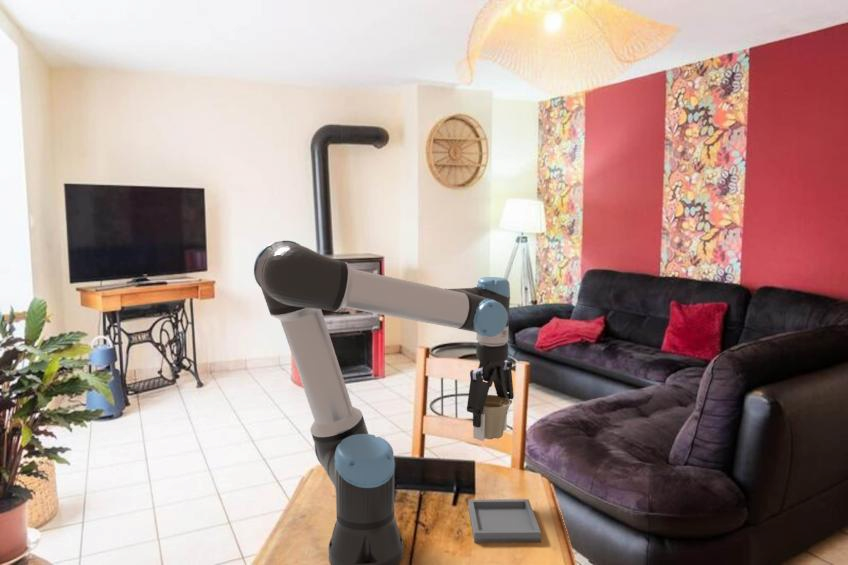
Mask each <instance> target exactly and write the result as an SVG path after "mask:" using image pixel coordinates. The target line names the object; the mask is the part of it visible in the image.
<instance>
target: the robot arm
mask: <svg viewBox="0 0 848 565" xmlns="http://www.w3.org/2000/svg"><path fill="white" fill-rule="evenodd" d="M253 275H254V276H253V277H254V279H255V282H256V283H257V285H258V286H259V287H260V289H261V291H262V295H263V298H264V300H265V302H266V306H267V308H268V311H269V315H270V316H272V317H274V318H276V319H278V320H279V321H280V323H281V326H282V328H283V333H284V334H285V339H286V340H287V344H288V347H289V348H290V352H291V356H292V358H293V359H292V360H293V361H294V364H295V367H296V369H297V370H296V371H297V373H298V375H299V378H300V381H301V385H302V388H303V391H304V394H305V397H306V399H307V403H308V405H309V406H308V407H309V408H310V411H311V414H312V416H313V422H312V424H311V426H310V430H309V431H310V433H311V437H312V440H313V442H314V452H315V456H316V458H317V460H318V462H319V464H320V465H321V466H322V468H323V469H324V472H325V473H326V475H327V476H328V477H329V479H330V481H331V482H332V483H331V484H333V486H334V489H335V494H336V495H335V500H336V501H335V506H336V508H335V509H336V520H335V524H334V527H333V530H332V535H331V538H330V539H329V543H328V561H329V564H330V565H399V564H400V563H401V561H402V560H403V557H404V540H403V537H402V535H401V534H400V530H399V526H398V523H397V521H396V517H395V470H396V461H395V455H394V454H395V453H394V449H393V447H392V445H391V444H390V442H388V441H387V440H386V439H385V438H383V437H381V436H376V435H374V434H369V431H368V428H367V425H366V421H365V419H364V415H363V413H362V411H361V409H359V408H356V407H354V406H353V404H352V401H351V398H350V394H349V392H348V388H347V386H346V382H345V379H344V376H343V373H342V370H341V367H340V364H339V361H338V357H337V355H336V351H335V348H334V345H333V342H332V339H331V335H330V333H329V329H328V327H327V326H328V325H327V324H326V321H325V317H324V313H323V310H324V311H329V312H335V313H336V312H338V311H340V310H342V309H343V308H344V309H348V310H354V311H361V312H365V313H372V314H377V315H382V316H387V317H393V318H398V319H404V320H410V321H414V322H415V321H416V322H421V323H426V324H431V325H437V326H443V327H448V328H452V329H453V328H454V329H458V330H462V331H469V332H473V333H476V339H475V340H476V341H477V343H476V349H475V350H476V354H475V355H476V356H475V357H476V359H478V361H479V365H478V368H477V369H476V370H474V369H471V370H470V372H469V376H470V384H469V389H468V397H467V406H466V411H467V412H468V413H471V414H472V426H473V431H472V432H473V436H472V438H473V439H476V440H477V441H482V442H484V441H485V438H484V431H485V414H484V413H483V409H484V405H485V402H486V398H487V395H489V391H490V388H491V387H492V386H493V384H494V388H495V392H496V395H497V396H498V397H502V398H507V399H509V400H510V401H511V404H512V403H513V399H514V395H515V394H514V386H513V385H514V384H513V374H512V368H513V361H509V360H508V358H509V344H508V342H509V325H510V306H511V304H510V302H511V289H510V282H509V280H508V279H507V278H503V277H500V276H485V277H480V278H479V279H478V280H477V284H476V286H475V287H465V288H462V287H461V288H443V287H437V286H435V285H434V286H432V285H430V284H428V285H427V284H423V283H418V282H415V281H410V280H406V279H405V280H404V279H401V278H396V277H392V276H386V275H382V274H377V273H373V272H369V271H363V270H360V269H359V270H358V269H356V268H351V266H349V263H348V262H347V261H344V260H343V261H342V260H338V259H335V258H331V257H329V256H326V255H323V254H321V253H319V252H316V251H315V250H312V249H310V248H309V247H307V246H303V245H301V244H300V243H298V242H296V241H292V240H286V239H285V240H280V241H279V240H278V241H274V242H272V243H270V244H268V245H265V247H263V248H262V249H261V250H260V252H259V253H258V254H257V256H256V259H255V261H254V266H253ZM478 407H479V409H478ZM507 419H508V413H507V414H506V419H505V425H504V431H507ZM504 431H503V432H504Z"/></svg>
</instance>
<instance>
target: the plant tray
mask: <svg viewBox="0 0 848 565" xmlns="http://www.w3.org/2000/svg"><path fill="white" fill-rule="evenodd" d="M468 508H469V509H468V514H469V518H470V520H469V521H470V524H471V530H472V531H471V533H472V536H473V543H476V544H477V543H486V544H487V543H541V540H542V537H541V535H542V532H541V529H540V526H539V524H538V520H537V518H536V516H535V513H534V510H533V508H532V504H531V503H530V499H529V498H527V499H526V498H525V499H524V498H520V499H519V498H518V499H517V498H515V499H514V498H513V499H511V498H510V499H499V498H498V499H468Z"/></svg>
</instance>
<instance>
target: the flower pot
mask: <svg viewBox="0 0 848 565" xmlns="http://www.w3.org/2000/svg"><path fill="white" fill-rule="evenodd" d="M510 400H511V399H510ZM510 400H509V399H507V398H502V397H498V396H497V394H488V395H487V398H486V402H485V405H484V409H483V413H484V414H485V431H484V440H493V439H497V440H499V439H501V438H502V437H503V435H504V425H505V419H506V414H507V415H508V411H509V408H510V406H511V405H512V403H511V401H510ZM478 409H479V407H478Z"/></svg>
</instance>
